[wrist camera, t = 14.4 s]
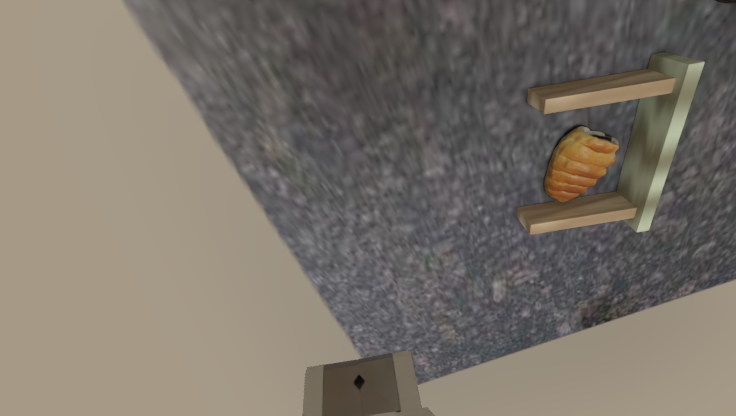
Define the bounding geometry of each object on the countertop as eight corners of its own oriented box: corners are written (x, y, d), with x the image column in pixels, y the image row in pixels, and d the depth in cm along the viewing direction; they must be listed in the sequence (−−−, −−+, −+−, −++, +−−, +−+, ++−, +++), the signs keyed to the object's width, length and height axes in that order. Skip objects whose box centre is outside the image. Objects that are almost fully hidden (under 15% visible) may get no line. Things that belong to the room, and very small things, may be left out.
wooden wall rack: (529, 74, 40) (552, 87, 36) (665, 51, 40) (704, 61, 35) (515, 225, 51) (532, 249, 46) (622, 208, 50) (648, 230, 46)
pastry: (572, 199, 49) (589, 215, 46) (527, 189, 48) (541, 205, 45) (614, 133, 45) (636, 145, 41) (566, 120, 43) (584, 132, 40)
